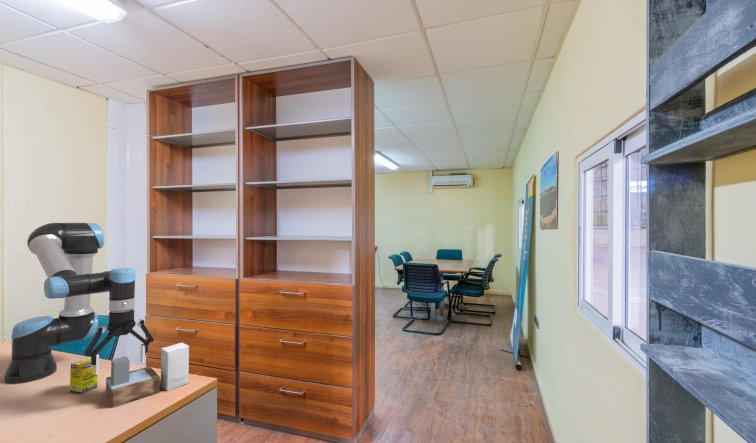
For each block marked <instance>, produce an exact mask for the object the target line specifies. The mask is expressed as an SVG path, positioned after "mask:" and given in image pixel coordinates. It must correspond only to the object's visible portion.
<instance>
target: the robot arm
mask: <svg viewBox="0 0 756 443" xmlns="http://www.w3.org/2000/svg"><path fill="white" fill-rule="evenodd" d="M26 240H27V243H26V245H27V247H28V250H29V251H30V253H32V254H33V255H36V258H37V260H38V261H39V264H40V265H41V267H42V270H43V271H44V273H45V275H46V277H47V278H45V280H44V283H43V291H44V296H45V297H46V298H47V299H49V300H50V299H51V300H52V299H64V304H63V305H64V306H63V309H62V310H60V311H59V313H58V317H56V318H53V316H52V315H44V316H36V317H32V318H31V317H30V318H29V319H26V320H22V321H19V322H17V323H16V324H15V325H14V326H13V327H12V332H11V357H10V358H11V359H10V363H9V365H8V367H7V369H6V371H5V374H4V381H5V383H6V384H22V383H28V382H33V381H36V380H40V379H43V378H46V377H48V376H50V375H53V374H54V373H56V371H57V370H58V369H57V368H58V364H57V362H56V359H55V358H54V356H53V353H52V348H53V347H55V346H59V345H63V344H68V343H73V342H77V341H78V342H79V341H82V340H85V339H90V338H91V337H92V339H91V341H90V342H89V344H88V346H87V348H86V349H85V351H84V355H85V356H86V357H90V359H91V364H92V366H93V365H95V374H96V375H100V355H99V353H100V352H101V351H102V349H104V347H106V345H107V344H108V343H109V342H110V341H111V340H113V338H114V337H117V338H118V337H121V336H127V335H128V334H129V333H130V334H131V335H133V337H134V338H135V337H136V339H138V340H139V341H140V342H141V344H140V362H141V364H144V363H146V362H145V361H146V353H148V352H149V345H150V343H153V342H154V341H155V339H154V338H153V335H151V333H150V332H149V330H148V328H147V327H146V325H145V320H144V319H143V318H139V320H136V321H135V309H134V308H135V296H136V295H135V294H136V289H135V288H136V271H135V269H134V268H132V267H121V268H120V267H119V268H118V267H117V268H112V269H111V270H107V271H106V270H105V271H102V272H95V273H93V265H94V264H93V261H94V256H96V255H97V254H98V253H99V249H102V248H103V247H104V244H105V235H104V231H103V229H102V227H101V225H99V224H98V223H93V222H50V223H45V224H43V225H40V226H39V227H37V228H36V229H34V230H33V231H32V232H31V233H30V234H29V236H28V237H27V239H26ZM100 293H108V296H109V297H108V311H109V312H108V324H107V325H105V326H104V325H103V326H101V325H99V315H98V313H97V312H96V311H94V308H93V307H91V295H92V294H93V295H94V294H100ZM136 325H137V326H138V327H140V329H141V330H142V332H143V333H144V335H145V336H146V339H145V338H144V337H143V336H141V335H140V334H139V333H138V332H137V331H135V330H134V328H135V326H136ZM106 330H107V331H108V333H107V334H106V336H105V337H104V338H103V339H102V340H101V341H100V343H98V342H99V340H100V338H101V337H102V334H103V333H105V331H106ZM97 343H98V344H97ZM96 345H97V346H96Z"/></svg>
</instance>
